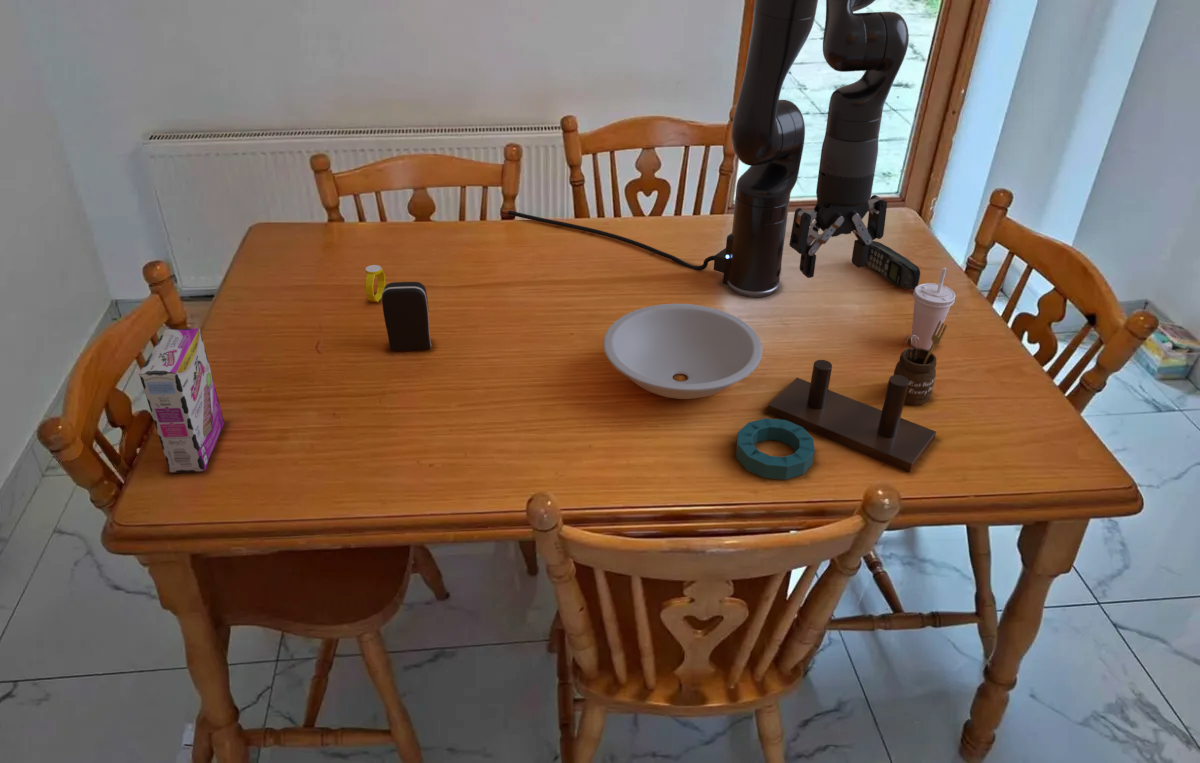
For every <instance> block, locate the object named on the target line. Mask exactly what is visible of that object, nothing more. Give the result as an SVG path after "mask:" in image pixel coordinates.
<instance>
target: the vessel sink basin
mask: <svg viewBox="0 0 1200 763" xmlns="http://www.w3.org/2000/svg"><path fill="white" fill-rule="evenodd" d="M603 350H604V354H605V356H606V358H607V360H608V362H609V363H610V364H611V365H612V366H613V367H614V369H616V370H617V371H618V372H619V373H621V375H623V376H626V377H627V378H628V379H629V380H630V381H632V382H633V383H634V384H636V385H637V386H639V387H640V388H642V389H644V390H645V391H647V392H649V393H652V394H655V395H657V396H661V397H665V398H670V399H677V400H678V399H679V400H690V399H691V400H694V399H702V398H706V397H709V396H712V395H715V394H719V393H720V392H722V391H724V390H726V389H728V388H729V387H731V386H733V385H734V384H736V383H738V382H740V381H742V380H744V379H746V378H747V377H748V376H750V375H751V374H752V373H753V372H754V371H755V370H756V369H757V368H758V366H759V364H760V362H761V360H762V357H763V344H762V341H761V339H760V337H759V335H758V334H757V332H756V331H755V329H753V328H752V327H751V325H749V324H748V323H747V322H745V321H743V319H740V318H739V317H737V316H735V315H733V314H731V313H729V312H726V311H723V310H720V309H717V308H715V307H710V306H706V305H699V304H694V303H693V304H692V303H662V304H655V305H649V306H644V307H641V308H637V309H635V310H632V311H630V312H627V313H625V314H624V315H622V316H621V317H619V318H618V319H616V320H615V321H613V323H612V324H611V325H610V326H609V328H608V329H607V330H606V332H605V335H604V337H603ZM675 375H685V376H686V377H687V379H686V380H683V381H681V380H680V381H678V380H676V379H674V376H675Z"/></svg>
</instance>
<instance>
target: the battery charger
mask: <svg viewBox="0 0 1200 763" xmlns="http://www.w3.org/2000/svg"><path fill="white" fill-rule="evenodd" d="M381 305H382V306H381V308H382V314H383V318H384V323H385V328H386V332H387V334H386V335H387V340H388V348H389V350H390V351H391V352H413V351H427V350H430V349H432V339H431V333H430V319H429V318H430V315H429V308H430V307H429V300H428V292H427V288H426V286H425V285H424V284H423V283H422V282H420V281H396V282H395V281H393V282H389V283H386V286H385V288H384V291H383V293H382V298H381Z"/></svg>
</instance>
